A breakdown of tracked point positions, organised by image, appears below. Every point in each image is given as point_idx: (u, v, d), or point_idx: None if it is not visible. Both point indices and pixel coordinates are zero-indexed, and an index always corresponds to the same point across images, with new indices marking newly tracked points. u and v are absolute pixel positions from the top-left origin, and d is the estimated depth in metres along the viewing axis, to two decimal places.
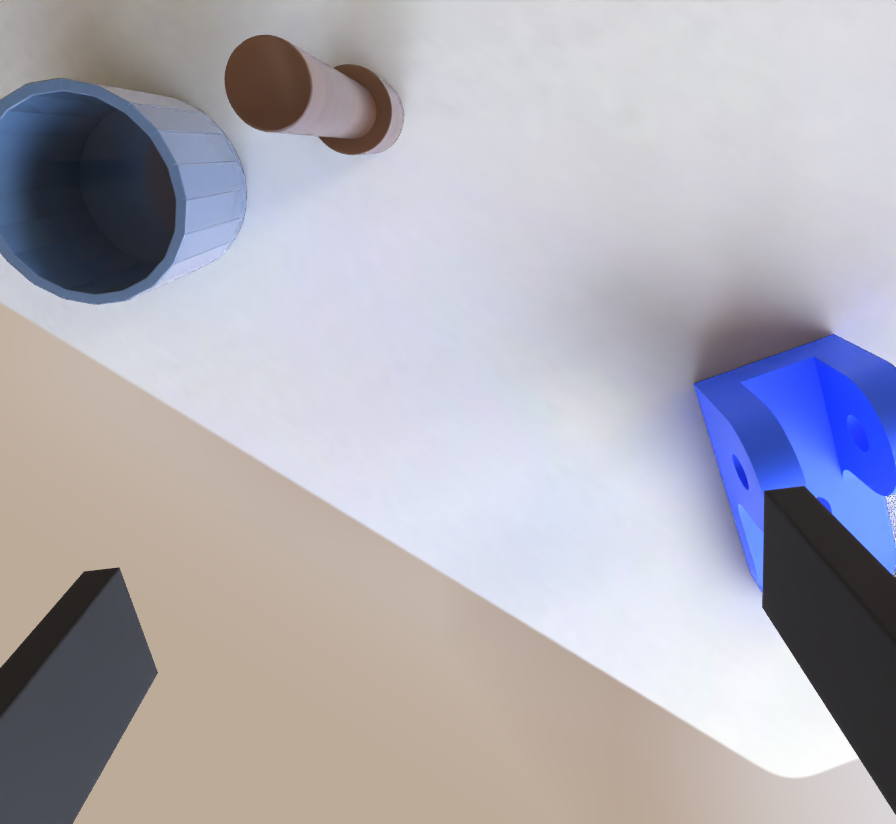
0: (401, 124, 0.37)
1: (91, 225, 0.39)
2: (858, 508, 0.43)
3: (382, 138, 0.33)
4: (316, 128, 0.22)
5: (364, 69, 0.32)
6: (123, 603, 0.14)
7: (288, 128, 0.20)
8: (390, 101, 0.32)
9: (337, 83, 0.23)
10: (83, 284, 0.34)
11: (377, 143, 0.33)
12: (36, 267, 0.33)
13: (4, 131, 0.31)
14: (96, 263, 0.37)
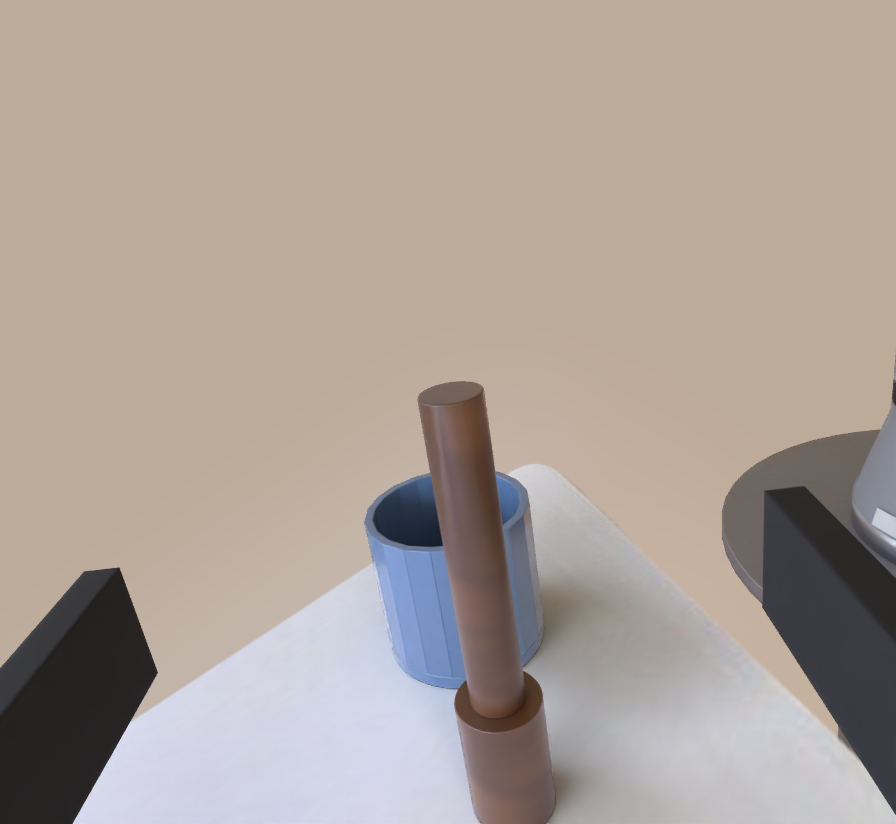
0: (498, 822, 0.31)
1: None
2: None
3: (466, 723, 0.29)
4: (432, 478, 0.26)
5: (537, 710, 0.29)
6: (123, 603, 0.14)
7: (418, 402, 0.25)
8: (503, 732, 0.29)
9: (472, 512, 0.26)
10: (387, 517, 0.43)
11: (462, 718, 0.29)
12: (404, 492, 0.44)
13: (499, 488, 0.43)
14: None
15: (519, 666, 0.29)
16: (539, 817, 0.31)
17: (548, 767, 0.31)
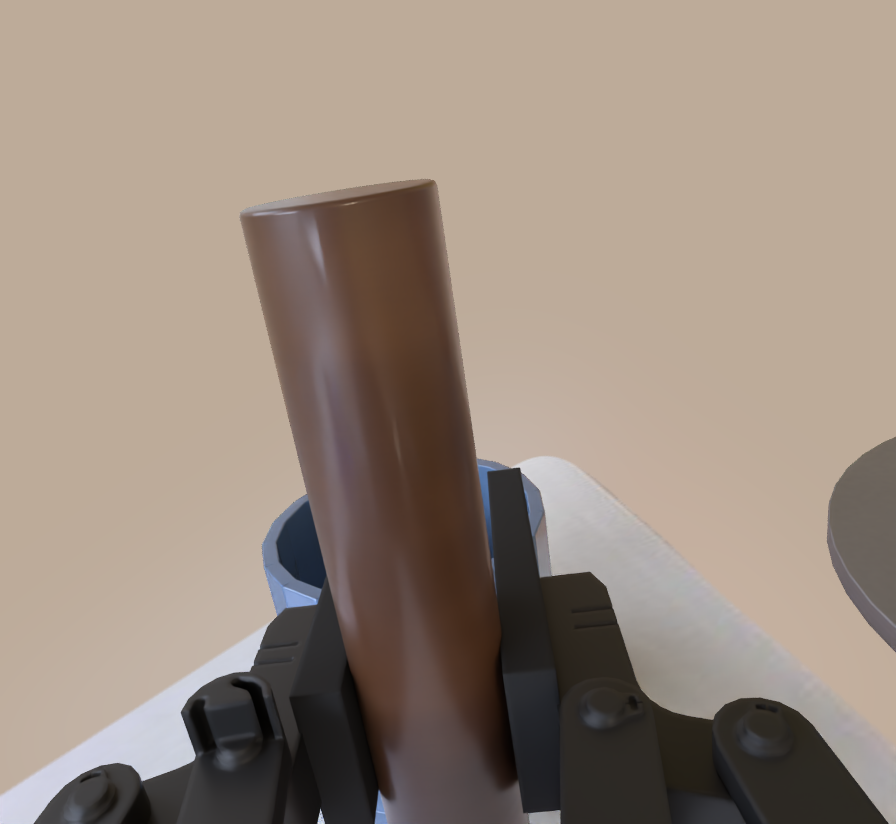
0: None
1: None
2: None
3: None
4: (297, 451, 0.09)
5: None
6: None
7: None
8: None
9: (405, 545, 0.09)
10: (309, 535, 0.26)
11: None
12: None
13: None
14: None
15: None
16: None
17: None
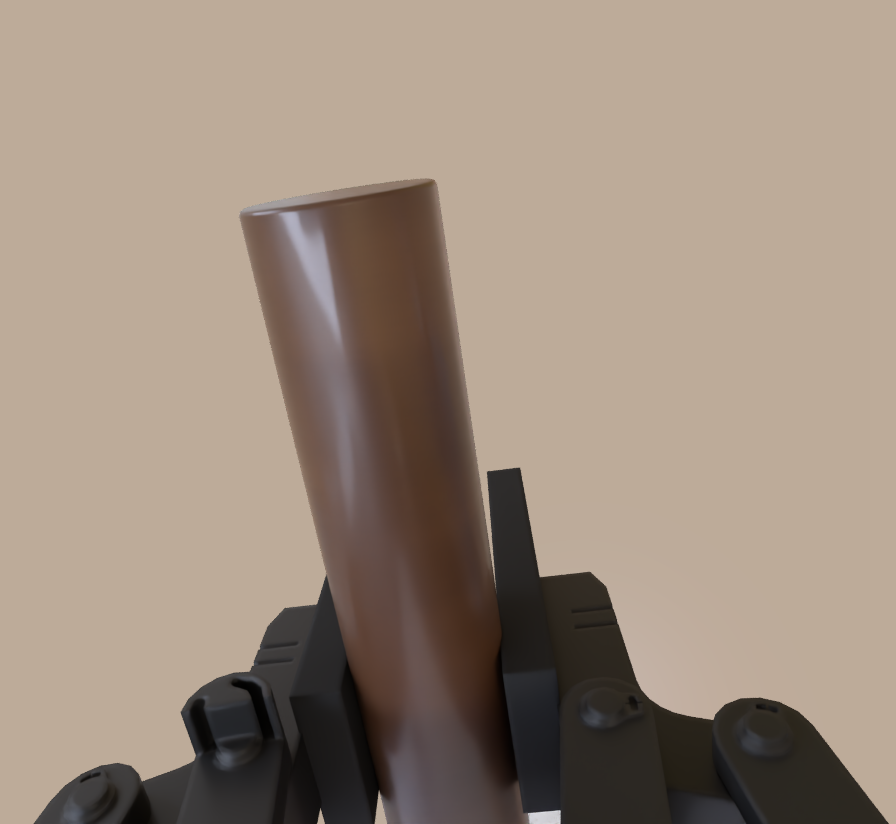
0: None
1: None
2: None
3: None
4: (297, 451, 0.09)
5: None
6: None
7: None
8: None
9: (405, 545, 0.09)
10: None
11: None
12: None
13: None
14: None
15: None
16: None
17: None
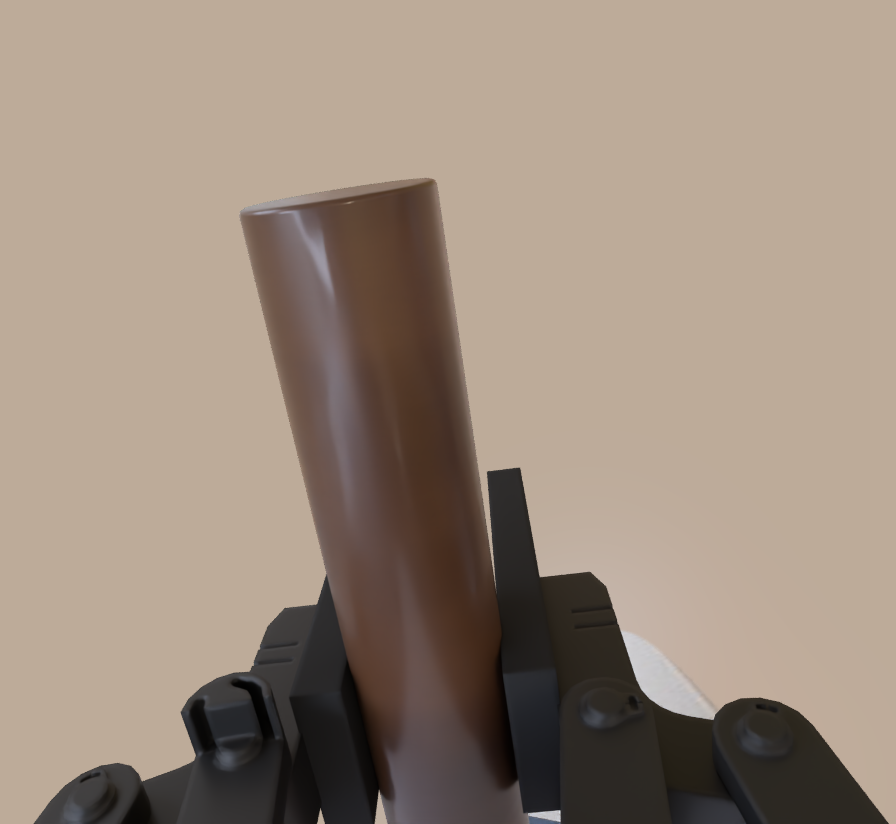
0: None
1: None
2: None
3: None
4: (297, 450, 0.09)
5: None
6: None
7: None
8: None
9: (405, 544, 0.09)
10: None
11: None
12: None
13: None
14: None
15: None
16: None
17: None
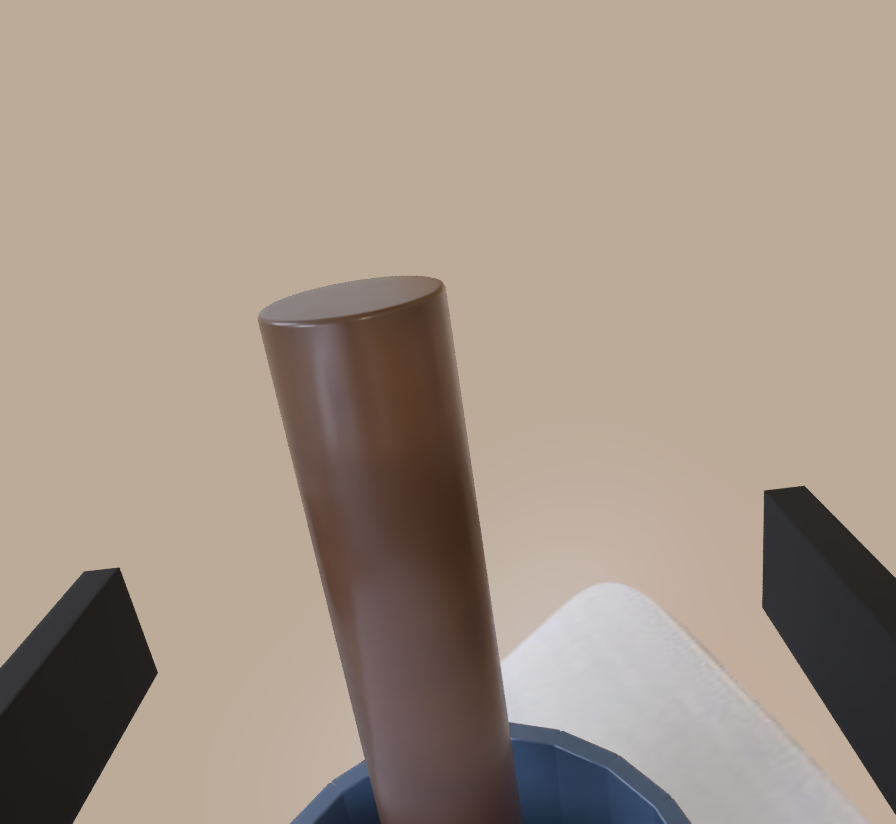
0: None
1: None
2: None
3: None
4: (310, 534, 0.10)
5: None
6: (123, 603, 0.14)
7: None
8: None
9: (413, 627, 0.09)
10: None
11: None
12: (360, 798, 0.17)
13: (615, 801, 0.16)
14: None
15: None
16: None
17: None
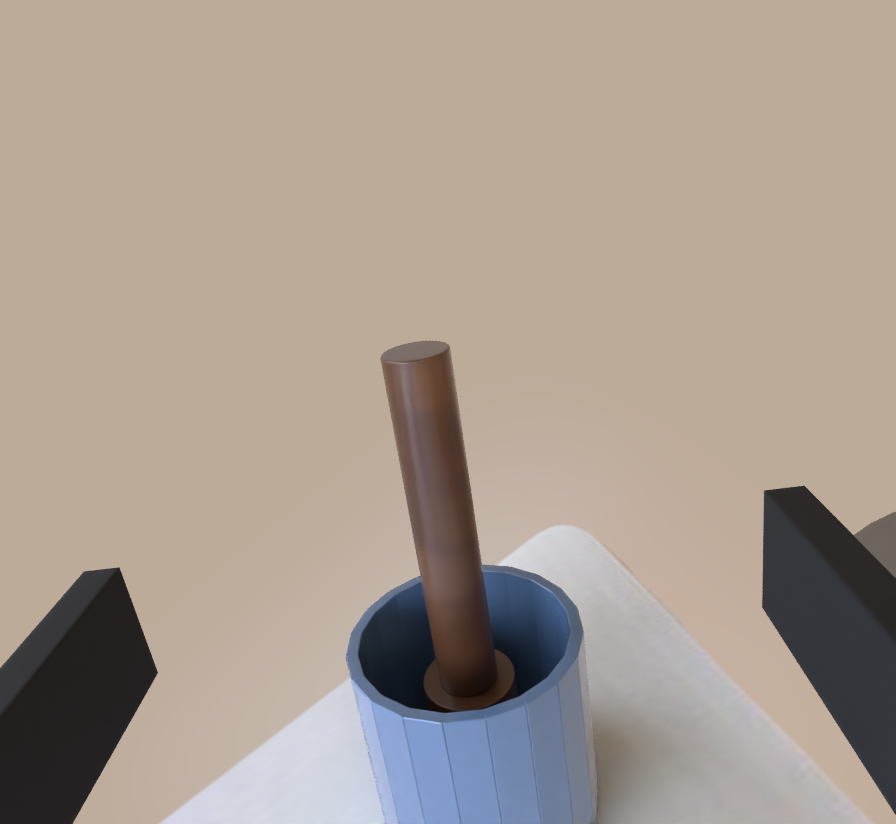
0: None
1: None
2: None
3: (435, 702, 0.28)
4: (397, 442, 0.25)
5: (508, 688, 0.28)
6: (123, 603, 0.14)
7: (381, 360, 0.24)
8: None
9: (437, 476, 0.25)
10: (379, 638, 0.31)
11: (430, 696, 0.28)
12: (404, 600, 0.32)
13: (535, 597, 0.31)
14: (407, 684, 0.33)
15: (490, 642, 0.28)
16: None
17: None
